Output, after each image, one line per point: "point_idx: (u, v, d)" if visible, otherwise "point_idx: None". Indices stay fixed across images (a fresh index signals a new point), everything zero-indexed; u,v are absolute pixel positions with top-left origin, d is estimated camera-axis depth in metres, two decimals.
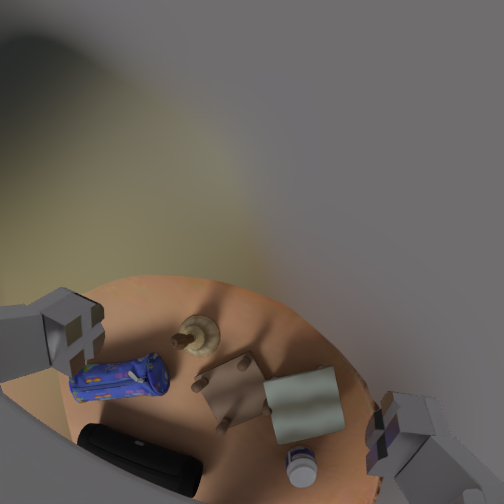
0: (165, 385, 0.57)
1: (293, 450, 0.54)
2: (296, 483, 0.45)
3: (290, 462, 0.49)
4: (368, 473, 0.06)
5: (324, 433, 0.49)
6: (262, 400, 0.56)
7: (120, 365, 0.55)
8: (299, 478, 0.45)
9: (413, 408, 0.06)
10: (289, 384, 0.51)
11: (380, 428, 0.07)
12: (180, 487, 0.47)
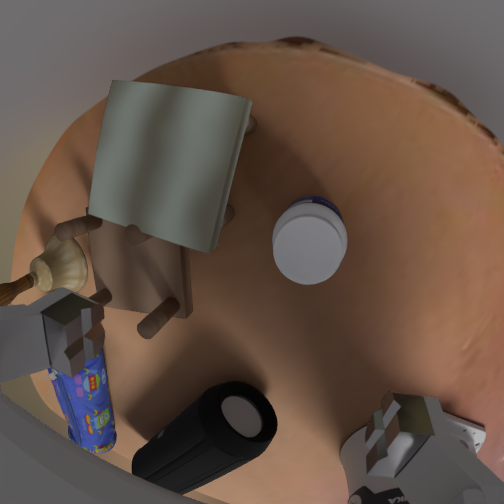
0: None
1: None
2: (315, 274, 0.21)
3: None
4: (368, 473, 0.06)
5: (230, 146, 0.22)
6: None
7: None
8: (304, 260, 0.21)
9: (413, 408, 0.06)
10: (104, 170, 0.25)
11: (380, 427, 0.07)
12: (224, 448, 0.29)
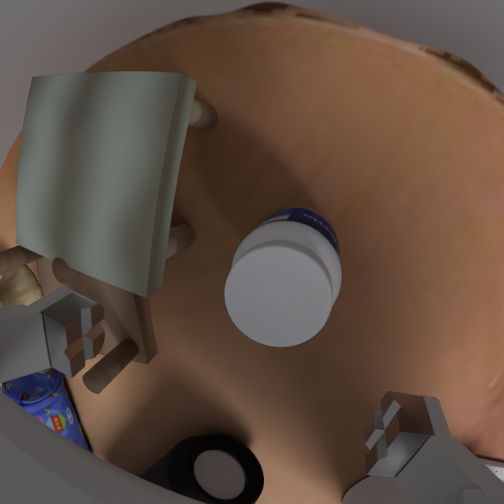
0: (50, 380, 0.30)
1: None
2: (290, 333, 0.14)
3: None
4: (368, 473, 0.06)
5: (161, 145, 0.15)
6: None
7: None
8: (272, 312, 0.14)
9: (413, 408, 0.06)
10: (26, 189, 0.18)
11: (379, 428, 0.07)
12: None
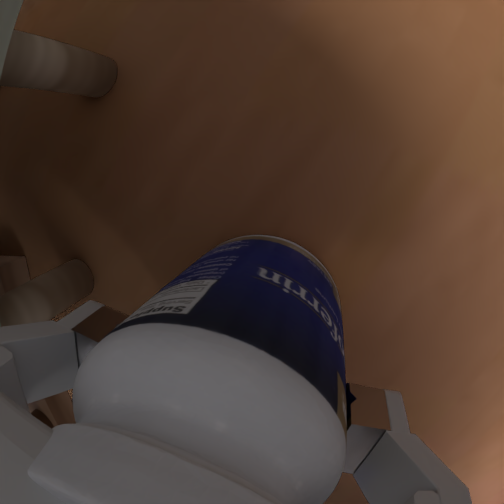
0: None
1: None
2: None
3: None
4: None
5: None
6: None
7: None
8: None
9: (370, 401, 0.07)
10: None
11: None
12: None
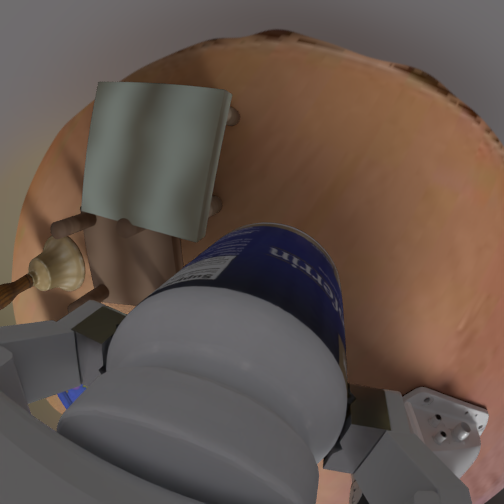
0: None
1: None
2: None
3: None
4: (325, 467, 0.06)
5: (211, 137, 0.23)
6: None
7: None
8: None
9: (370, 401, 0.07)
10: (94, 167, 0.26)
11: None
12: None
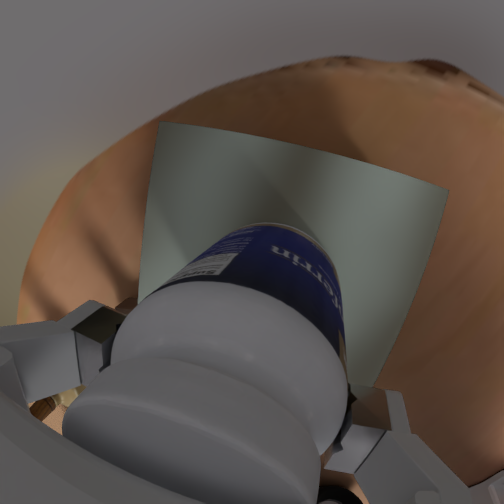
0: None
1: None
2: None
3: None
4: (325, 467, 0.06)
5: (416, 277, 0.12)
6: None
7: None
8: None
9: (371, 401, 0.07)
10: None
11: None
12: None
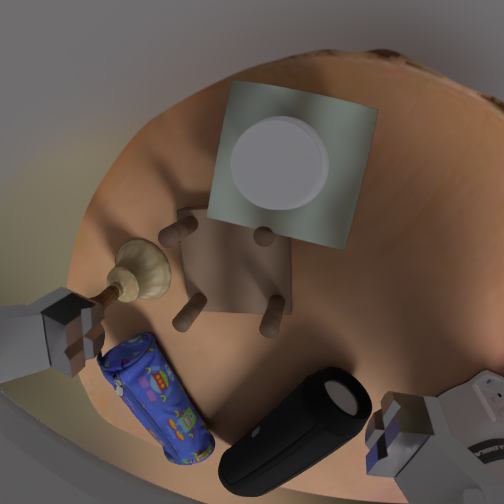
0: (143, 342, 0.40)
1: None
2: (287, 194, 0.16)
3: None
4: (368, 473, 0.06)
5: (366, 153, 0.24)
6: None
7: None
8: (272, 176, 0.16)
9: (413, 408, 0.06)
10: (228, 171, 0.26)
11: (380, 427, 0.07)
12: (334, 430, 0.31)
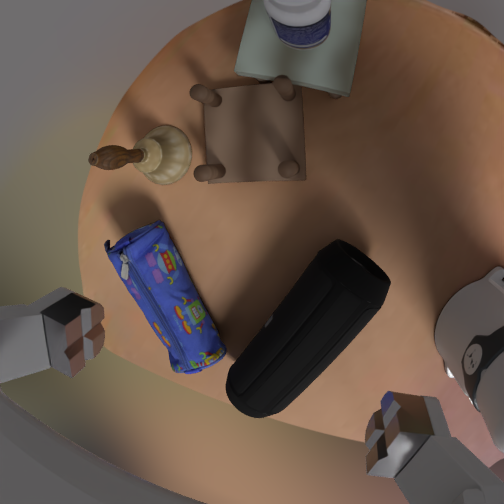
0: (152, 225, 0.42)
1: None
2: None
3: (267, 13, 0.22)
4: (368, 473, 0.06)
5: (360, 24, 0.26)
6: (281, 100, 0.35)
7: None
8: None
9: (413, 408, 0.06)
10: (253, 37, 0.28)
11: (380, 427, 0.07)
12: (355, 290, 0.32)
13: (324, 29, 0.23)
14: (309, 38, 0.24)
